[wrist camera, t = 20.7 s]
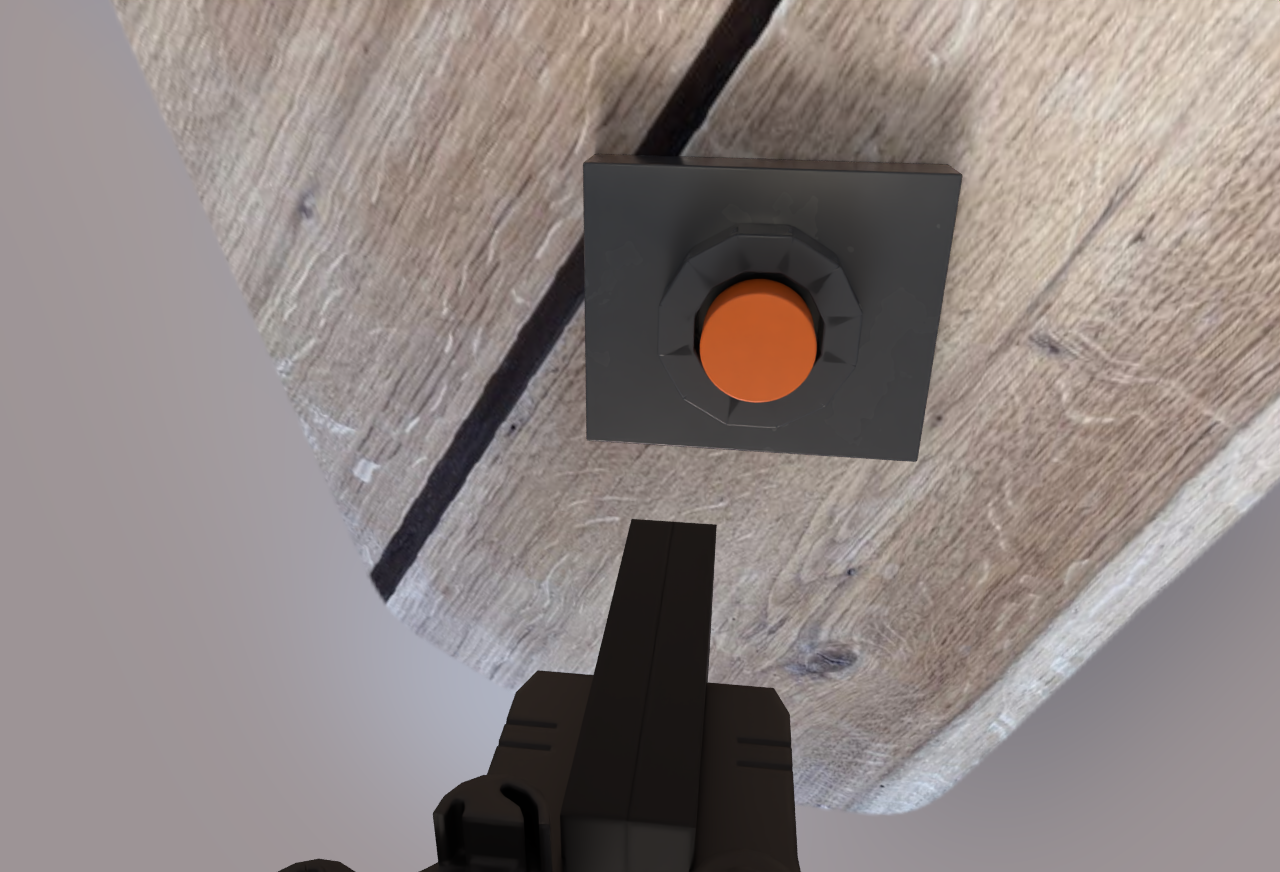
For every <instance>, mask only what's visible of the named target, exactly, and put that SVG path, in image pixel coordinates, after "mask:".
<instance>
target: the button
mask: <svg viewBox="0 0 1280 872" xmlns="http://www.w3.org/2000/svg"><path fill="white" fill-rule="evenodd" d="M816 352H817V342H816V334H815V329H814V323H813V319H812V315H811V313H810V310H809V308H808V306H807V305H806V303H805V301H804V300H803V299H802V298H801V296H800V295H798V294H797V293H796V292H795V291H794V290H793V289H791V288H790V287H788V286H786V285H784V284H782V283H780V282H777V281H773V280H769V279H750V280H745V281H742V282H739V283H736V284H734V285H732V286H730V287H728V288H727V289H725V290H724V291H723V292H722V293H720V294H719V295H718V296H717V297H716V298H715V300H714V301H713V302H712V304H711V305H710V307H709V309H708V311H707V313H706V316H705V319H704V323H703V328H702V333H701V339H700V357H701V362H702V365H703V368H704V370H705V372H706V374H707V375H708V377H709V379H710V380H711V381H712V382H713V383H714V385H715V386H717V387H718V388H719V389H720V390H721V391H723V392H724V393H725V394H727V395H729V396H731V397H733V398H736V399H738V400H742V401H746V402H754V403H761V402H769V401H773V400H777V399H779V398H782V397H784V396H786V395H788V394H790V393H791V392H793V391H794V390H796V389H797V388H798V387H799V386H800V385H801V384H802V383H803V382H804V381H805V379H806V378H807V377H808V375H809V373H810V372H811V370H812V367H813V365H814V362H815V358H816Z"/></svg>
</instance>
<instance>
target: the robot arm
mask: <svg viewBox="0 0 1280 872" xmlns="http://www.w3.org/2000/svg"><path fill="white" fill-rule="evenodd" d="M715 543H716V525H713V524H698V523H683V522H668V521H653V520H638V519H632V520H631V524H630V528H629V532H628V536H627V540H626V544H625V548H624V552H623V557H622V561H621V565H620V569H619V573H618V577H617V581H616V585H615V590H614V594H613V598H612V602H611V606H610V610H609V614H608V618H607V623H606V627H605V631H604V635H603V639H602V643H601V647H600V651H599V656H598V660H597V664H596V668H595V672H594V675H585V674H573V673H562V672H550V671H537V672H536V673H535V674H534V675H533V676H532V677H531V678H530V679H529V680H528V681H527V682H526V683H525V684H524V685H523V686H522V687H521V688H520V689H519V690H518V691H517V692H516V694H515V697H514V700H513V702H512V705H511V708H510V711H509V714H508V717H507V721H506V724H505V725H504V728H503V731H502V734H501V736H500V739H499V745H498V746H497V748H496V751H495V754H494V756H493V759H492V762H491V765H490V767H489V770H488V773H487V775H482V776H480V777H477V778H474V779H471V780H469V781H465V782H463V783H461V784H460V785H458V786H457V787H456V788H454V789H453V790H452V791H450V792H449V793H448V794H446V795H445V796H444V797H443V799H442V800H441V802H440V803H439V805H438V806H437V808H436V809H435V811H434V812H433V820H434V828H435V837H436V846H437V855H438V863H436V864H434V865H432V866H430V867H428V868H426V869H424V870H422V871H420V872H801V871H800V866H799V861H798V856H797V837H796V821H795V801H794V783H793V771H792V766H793V765H792V748H791V730H790V714H789V712H788V710H787V709H786V707H785V706H784V704H783V702H782V701H781V699H780V697H779V696H778V694H777V692H776V691H775V689H774V688H766V687H754V686H742V685H730V684H718V683H707V682H708V667H709V652H710V634H711V616H712V598H713V580H714V562H715ZM278 872H355V871H353V870H351V869H350V868H348V867H347V866H345V865H344V864H342V863H341V862H338V861H331V860H324V859H315V860H309V861H304V862H299V863H295V864H293V865H290V866H288V867H287V868H284V869H282V870H280V871H278Z"/></svg>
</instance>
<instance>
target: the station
mask: <svg viewBox="0 0 1280 872" xmlns="http://www.w3.org/2000/svg"><path fill="white" fill-rule="evenodd" d="M961 182H962V174H961V173H959V172H958V171H957V170H955V169H954V168H952V167H951V166H950V165H947V164H914V163H881V162H848V161H815V160H782V159H749V158H715V157H682V156H649V155H616V154H594V155H593V156H592V157H590V158H589V159H588V160H586V161H585V162H584V163H583V195H584V276H585V357H586V438H587V440H588V441H602V442H618V443H633V444H649V445H664V446H680V447H695V448H711V449H726V450H742V451H757V452H773V453H789V454H804V455H820V456H835V457H851V458H866V459H882V460H897V461H913V462H916V461H917V460H918V453H919V447H920V441H921V434H922V428H923V422H924V415H925V409H926V403H927V396H928V390H929V384H930V378H931V371H932V365H933V359H934V352H935V346H936V340H937V333H938V327H939V321H940V314H941V308H942V302H943V296H944V289H945V283H946V277H947V270H948V264H949V258H950V251H951V245H952V239H953V232H954V226H955V220H956V213H957V207H958V201H959V195H960V188H961ZM750 279H769V280H773V281H777V282H780V283H782V284H784V285H786V286H788V287H790V288H791V289H793V290H794V291H795V292H796V293H797V294H798V295H800V296H801V298H802V299H803V300H804V301H805V303H806V305H807V306H808V308H809V310H810V313H811V315H812V319H813V323H814V329H815V334H816V342H817V352H816V358H815V362H814V365H813V367H812V370H811V372H810V373H809V375H808V377H807V378H806V379H805V381H804V382H803V383H802V384H801V385H800V386H799V387H798V388H797V389H796V390H794V391H793V392H791V393H790V394H788V395H786V396H784V397H782V398H779V399H777V400H773V401H769V402H761V403H754V402H746V401H742V400H738V399H736V398H733V397H731V396H729V395H727V394H725V393H724V392H723V391H721V390H720V389H719V388H718V387H717V386H715V385H714V383H713V382H712V381H711V380H710V379H709V377H708V375H707V374H706V372H705V370H704V368H703V365H702V362H701V357H700V339H701V333H702V328H703V323H704V319H705V316H706V313H707V311H708V309H709V307H710V305H711V304H712V302H713V301H714V300H715V298H716V297H717V296H718V295H719V294H720V293H722V292H723V291H724V290H725V289H727V288H728V287H730V286H732V285H734V284H736V283H739V282H742V281H745V280H750Z"/></svg>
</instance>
